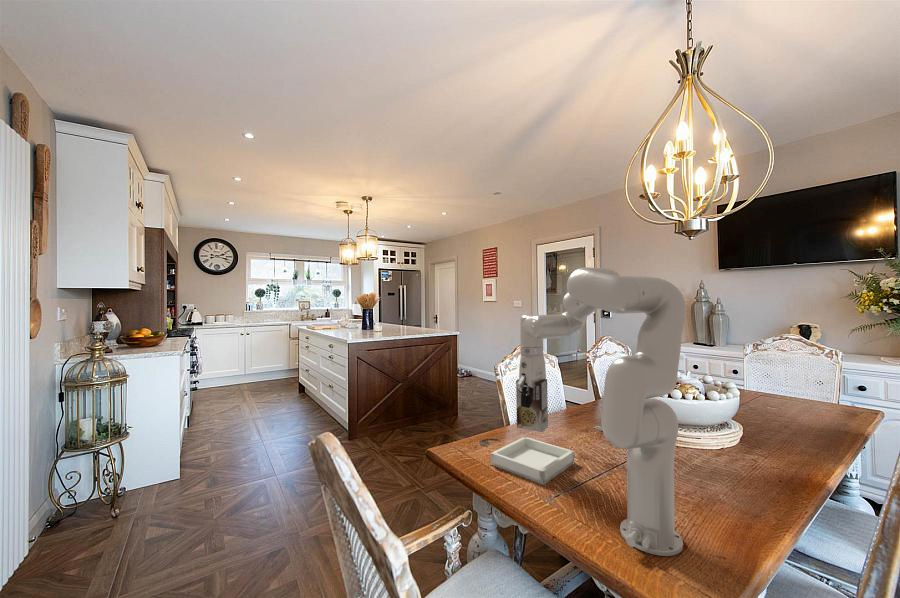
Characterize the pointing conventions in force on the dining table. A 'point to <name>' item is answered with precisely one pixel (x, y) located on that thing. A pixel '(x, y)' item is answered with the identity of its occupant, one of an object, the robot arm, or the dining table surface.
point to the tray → (533, 459)
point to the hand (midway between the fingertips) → (532, 404)
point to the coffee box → (533, 408)
